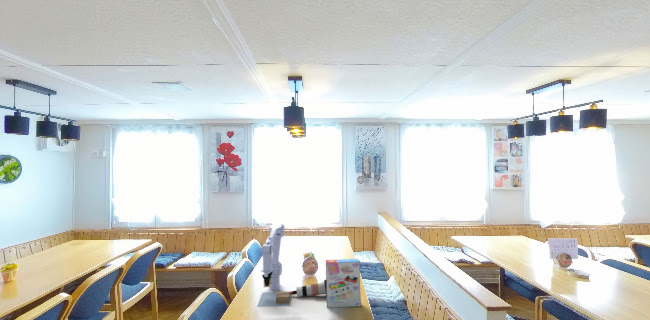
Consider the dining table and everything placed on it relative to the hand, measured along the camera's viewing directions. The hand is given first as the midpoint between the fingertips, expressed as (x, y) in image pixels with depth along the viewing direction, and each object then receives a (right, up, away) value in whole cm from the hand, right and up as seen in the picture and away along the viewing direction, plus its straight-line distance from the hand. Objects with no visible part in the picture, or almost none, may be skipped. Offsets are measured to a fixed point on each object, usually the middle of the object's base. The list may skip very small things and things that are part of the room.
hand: (267, 284), depth 211 cm
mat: (+6, -9, -3) cm, 11 cm away
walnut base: (+11, -8, -6) cm, 15 cm away
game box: (+48, -8, -13) cm, 50 cm away
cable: (+30, -8, +1) cm, 32 cm away
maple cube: (0, -1, 0) cm, 1 cm away
